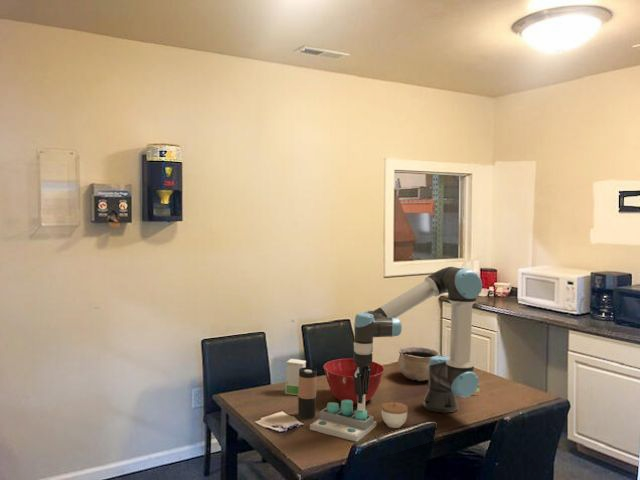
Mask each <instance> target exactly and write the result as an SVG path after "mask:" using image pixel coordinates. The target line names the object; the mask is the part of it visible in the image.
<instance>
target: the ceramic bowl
mask: <svg viewBox="0 0 640 480" xmlns="http://www.w3.org/2000/svg"><path fill="white" fill-rule="evenodd" d="M398 352H399V356H398V359H397V361H398V362H397V363H398V369H399V370H400V371H401V373H402V375H403V376H404V377H405V378H407V379H408V380H410V379H411V380H410V381H414V380H417V381H416V382H425V380H426V381H428V378H429V360H430V358H432V357H437V356H441V353H440V352H438V351H436V350H435V349H430V348H427V347H419V346H417V347H416V346H407V347H400V348H399V350H398Z"/></svg>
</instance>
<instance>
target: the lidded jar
mask: <svg viewBox="0 0 640 480" xmlns="http://www.w3.org/2000/svg"><path fill="white" fill-rule="evenodd" d="M381 417H382V420H383V422H384V423H385V424H386V426H387V427H389V428H392V429H397V428H402V426H403V425H404V424H405V423H406V421H407V419H408V418H407V417H408V406H407V405H406V404H404V403H401V402H394V401H390V402H384V403H382V404H381Z"/></svg>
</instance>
